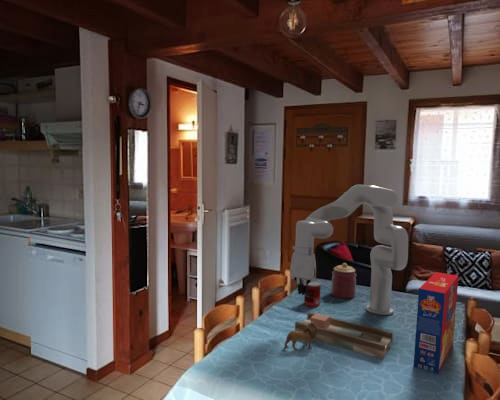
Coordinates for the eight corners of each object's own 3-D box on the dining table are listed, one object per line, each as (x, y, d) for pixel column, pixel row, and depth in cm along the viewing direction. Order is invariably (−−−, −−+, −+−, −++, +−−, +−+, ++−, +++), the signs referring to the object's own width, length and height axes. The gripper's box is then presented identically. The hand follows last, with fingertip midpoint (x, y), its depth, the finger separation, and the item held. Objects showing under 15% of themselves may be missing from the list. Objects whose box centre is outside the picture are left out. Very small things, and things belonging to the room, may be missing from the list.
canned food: (319, 302, 198) (320, 281, 197) (320, 307, 190) (321, 285, 189) (303, 301, 198) (304, 280, 197) (304, 306, 190) (305, 284, 190)
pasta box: (438, 374, 131) (444, 293, 128) (413, 366, 135) (419, 288, 133) (452, 345, 153) (458, 275, 151) (431, 339, 158) (436, 271, 156)
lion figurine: (312, 341, 153) (313, 319, 152) (320, 347, 148) (321, 324, 147) (279, 348, 146) (280, 324, 146) (287, 354, 142) (288, 330, 141)
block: (316, 322, 164) (316, 313, 164) (329, 325, 161) (330, 316, 161) (310, 327, 159) (310, 317, 159) (324, 330, 156) (324, 321, 156)
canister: (357, 293, 213) (359, 261, 212) (353, 300, 202) (355, 267, 200) (333, 289, 219) (335, 258, 217) (328, 296, 207) (329, 263, 206)
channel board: (308, 323, 170) (308, 312, 170) (391, 344, 152) (392, 332, 152) (294, 334, 158) (295, 322, 158) (383, 359, 140) (384, 345, 140)
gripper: (283, 249, 163) (281, 292, 164) (318, 254, 155) (316, 299, 156) (291, 246, 169) (289, 288, 171) (325, 251, 161) (322, 295, 163)
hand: (302, 293), depth 163 cm, fingers closed
